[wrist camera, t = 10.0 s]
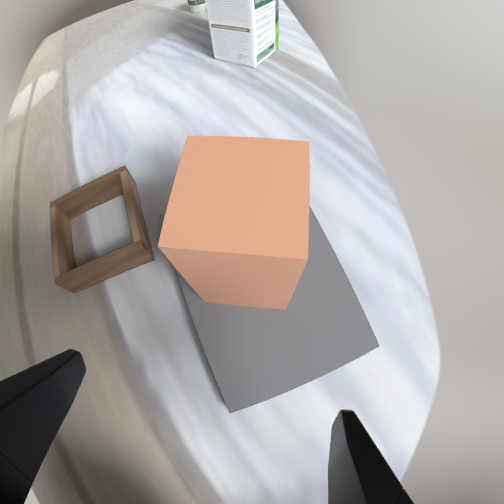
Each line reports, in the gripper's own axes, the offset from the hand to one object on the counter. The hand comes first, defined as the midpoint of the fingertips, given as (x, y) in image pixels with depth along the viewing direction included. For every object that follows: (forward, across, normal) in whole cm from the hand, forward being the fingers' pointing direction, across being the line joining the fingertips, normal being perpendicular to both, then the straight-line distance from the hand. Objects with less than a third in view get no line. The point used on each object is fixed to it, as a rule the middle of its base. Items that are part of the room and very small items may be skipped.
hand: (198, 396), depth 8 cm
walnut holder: (+12, +12, +1) cm, 17 cm away
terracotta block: (+11, 0, +1) cm, 11 cm away
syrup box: (+30, +5, -17) cm, 35 cm away
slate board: (+11, -1, +2) cm, 12 cm away
